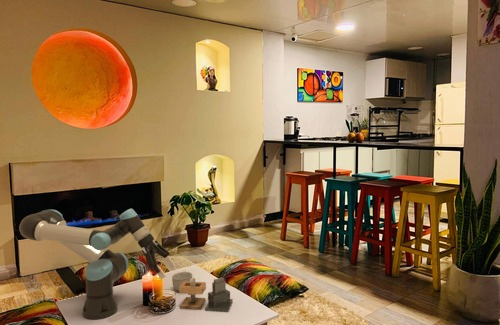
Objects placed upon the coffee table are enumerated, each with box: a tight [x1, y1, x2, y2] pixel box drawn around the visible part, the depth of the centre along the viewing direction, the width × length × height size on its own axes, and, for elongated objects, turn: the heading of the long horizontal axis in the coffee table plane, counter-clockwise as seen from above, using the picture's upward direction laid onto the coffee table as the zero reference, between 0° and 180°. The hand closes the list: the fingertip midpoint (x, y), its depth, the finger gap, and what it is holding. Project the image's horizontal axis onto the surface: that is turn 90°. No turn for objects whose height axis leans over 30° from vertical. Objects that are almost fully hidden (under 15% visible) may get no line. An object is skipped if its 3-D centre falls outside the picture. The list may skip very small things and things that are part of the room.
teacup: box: [171, 270, 193, 292], centre depth 208 cm, size 14×11×8 cm
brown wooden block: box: [178, 281, 207, 295], centre depth 187 cm, size 11×7×3 cm, turn 82°
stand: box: [179, 277, 207, 311], centre depth 188 cm, size 10×10×13 cm
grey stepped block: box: [204, 277, 233, 313], centre depth 186 cm, size 11×11×14 cm
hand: (168, 272), depth 189 cm, fingers open, 13 cm apart
